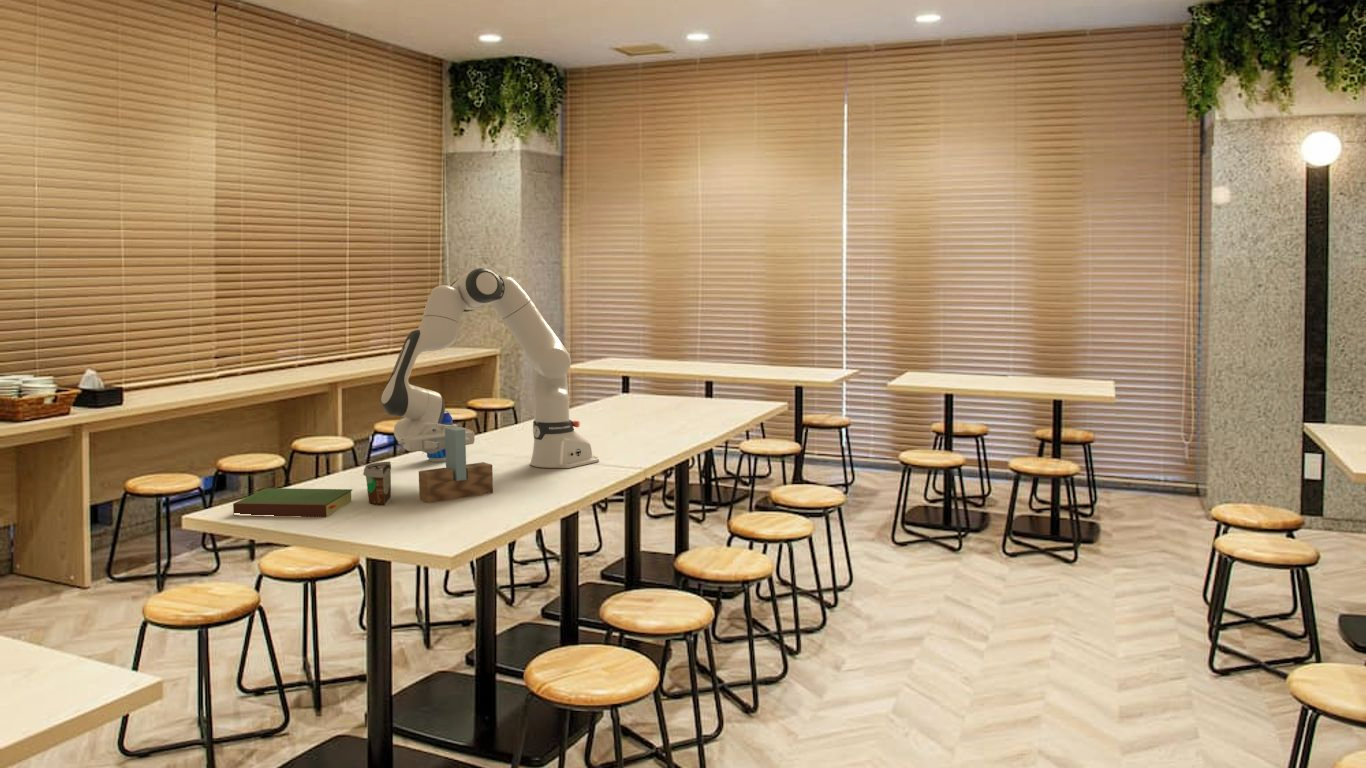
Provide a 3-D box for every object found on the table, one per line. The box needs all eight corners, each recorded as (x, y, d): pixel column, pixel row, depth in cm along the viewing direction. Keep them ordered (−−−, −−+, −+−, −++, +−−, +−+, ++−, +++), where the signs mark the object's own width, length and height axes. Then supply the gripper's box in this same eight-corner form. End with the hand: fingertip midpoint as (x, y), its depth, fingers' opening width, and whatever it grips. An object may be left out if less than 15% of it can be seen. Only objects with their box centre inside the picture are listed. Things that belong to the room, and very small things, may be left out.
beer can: (447, 462, 348) (445, 413, 346) (422, 461, 350) (421, 413, 348) (457, 458, 356) (456, 410, 355) (433, 457, 358) (432, 409, 356)
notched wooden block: (484, 489, 308) (483, 462, 307) (492, 492, 304) (492, 464, 303) (419, 499, 295) (418, 471, 294) (428, 503, 291) (427, 473, 290)
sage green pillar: (455, 476, 302) (454, 426, 301) (466, 479, 298) (465, 429, 296) (446, 477, 300) (444, 427, 299) (456, 480, 296) (455, 430, 294)
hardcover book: (233, 517, 277) (233, 503, 277) (266, 501, 296) (265, 488, 295) (328, 519, 276) (328, 504, 275) (355, 502, 294) (355, 489, 294)
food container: (369, 497, 299) (368, 461, 298) (392, 496, 299) (390, 461, 298) (359, 507, 286) (358, 470, 285) (383, 506, 287) (382, 469, 286)
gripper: (394, 430, 303) (417, 436, 292) (459, 423, 316) (483, 428, 306) (395, 452, 304) (418, 459, 293) (460, 444, 317) (484, 450, 306)
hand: (452, 443), depth 299 cm, fingers open, 8 cm apart
